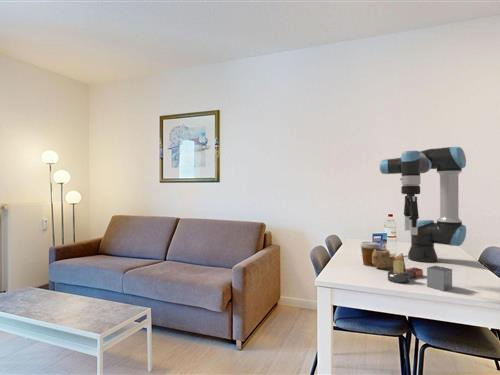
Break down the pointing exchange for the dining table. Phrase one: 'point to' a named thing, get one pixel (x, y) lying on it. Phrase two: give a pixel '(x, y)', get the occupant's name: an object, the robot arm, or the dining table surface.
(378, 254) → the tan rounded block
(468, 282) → the dining table surface
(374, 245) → the disposable coffee cup
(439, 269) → the grey upright box
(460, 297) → the dining table surface
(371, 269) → the dining table surface
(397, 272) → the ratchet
